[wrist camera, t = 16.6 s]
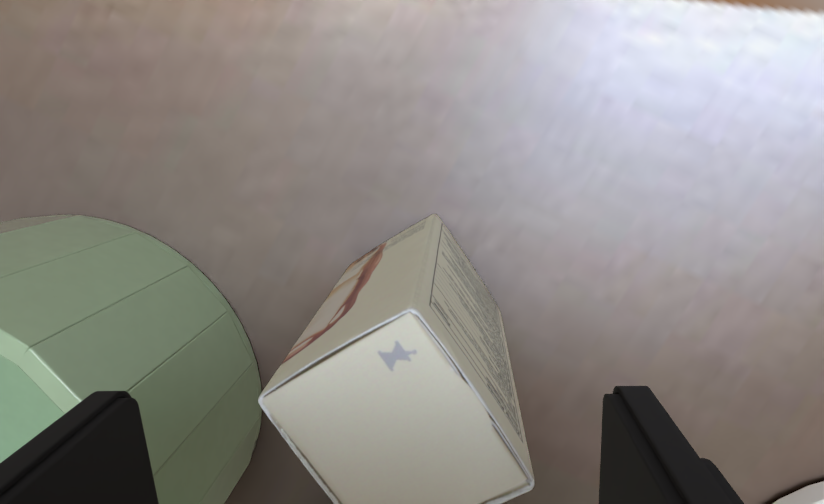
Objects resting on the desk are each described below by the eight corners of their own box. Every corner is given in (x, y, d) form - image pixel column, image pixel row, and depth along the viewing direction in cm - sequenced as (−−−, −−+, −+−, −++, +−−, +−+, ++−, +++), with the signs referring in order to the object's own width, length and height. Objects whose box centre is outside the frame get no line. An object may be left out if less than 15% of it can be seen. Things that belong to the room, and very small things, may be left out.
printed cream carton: (344, 265, 21) (242, 389, 11) (437, 209, 20) (414, 290, 10) (413, 368, 22) (374, 568, 12) (506, 318, 21) (544, 490, 11)
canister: (238, 207, 21) (92, 262, 13) (281, 533, 24) (189, 741, 16) (-106, 220, 22) (-436, 277, 14) (-18, 524, 26) (-240, 710, 18)
